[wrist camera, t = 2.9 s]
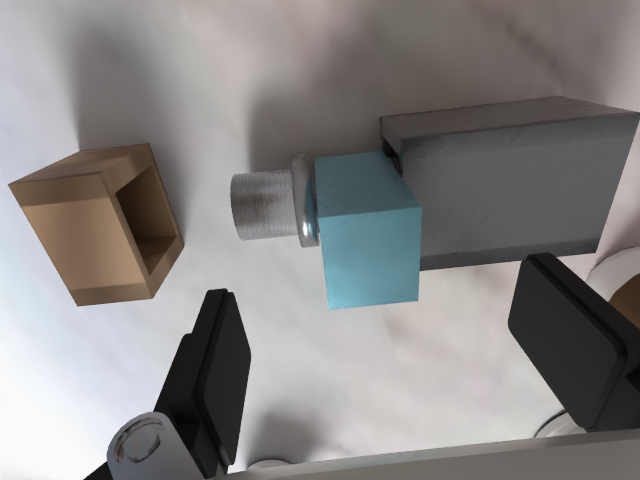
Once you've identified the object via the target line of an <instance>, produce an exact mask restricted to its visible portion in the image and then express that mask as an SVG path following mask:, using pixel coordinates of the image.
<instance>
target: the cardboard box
mask: <svg viewBox="0 0 640 480" xmlns="http://www.w3.org/2000/svg"><path fill="white" fill-rule="evenodd" d="M8 186H9V188H10V189H11V191H12V193H13V195H14V196H15V198H16V200H17V202H18V203H19V205H20V207H21V209H22V210H23V212H24V214H25V216H26V217H27V219H28V221H29V223H30V224H31V226H32V228H33V230H34V231H35V233H36V235H37V236H38V238H39V240H40V242H41V243H42V245H43V247H44V249H45V250H46V252H47V254H48V256H49V257H50V259H51V261H52V263H53V264H54V266H55V268H56V270H57V271H58V273H59V275H60V277H61V278H62V280H63V282H64V284H65V285H66V287H67V289H68V291H69V292H70V294H71V296H72V298H73V299H74V301H75V303H76V304H77V306H87V305H96V304H106V303H116V302H125V301H135V300H145V299H153V297H154V296H155V294H156V292H157V291H158V289H159V288H160V286H161V284H162V283H163V281H164V279H165V278H166V276H167V274H168V273H169V271H170V270H171V268H172V266H173V265H174V263H175V261H176V260H177V258H178V257H179V255H180V253H181V252H182V250H183V248H184V244H183V242H182V239H181V236H180V233H179V230H178V227H177V224H176V221H175V218H174V215H173V212H172V210H171V207H170V204H169V201H168V198H167V195H166V192H165V189H164V186H163V183H162V180H161V177H160V175H159V172H158V169H157V166H156V163H155V160H154V157H153V154H152V151H151V148H150V145H149V144H140V145H132V146H123V147H114V148H106V149H97V150H88V151H79V152H77V153H75V154H73V155H70V156H68V157H66V158H64V159H62V160H60V161H58V162H55V163H53V164H51V165H49V166H47V167H45V168H42V169H40V170H38V171H36V172H34V173H32V174H30V175H27V176H25V177H23V178H21V179H19V180H17V181H14V182H12V183H10V184H8Z"/></svg>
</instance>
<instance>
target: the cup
mask: <svg viewBox="0 0 640 480" xmlns="http://www.w3.org/2000/svg"><path fill="white" fill-rule="evenodd" d="M284 465H290V464H289V463H286V462H284V461H280V460H263V461H259V462H257V463H254V464H253V465H251V466H250V467H249V468H248V469H247V470H253V469H261V468H269V467H276V466H284ZM247 470H246V471H247Z"/></svg>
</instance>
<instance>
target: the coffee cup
mask: <svg viewBox="0 0 640 480" xmlns="http://www.w3.org/2000/svg"><path fill="white" fill-rule="evenodd" d="M586 284H588V285H589V286H590V287H591V288H592V289H593V290H595V291H596V292H597V293H598V294H599V295H600V296H602V297H603V298H604V299H605V300H606V301H607V302H608V303H610V304H611V305H612V306H613V307H614V308H615V309H617V310H618V311H619V312H620V313H621V314H622V315H624V316H625V317H626V318H627V319H628V320H629V321H630V322H632V323H633V324H634V325H635V326H636V327H637V328H639V329H640V247H634V248H629V249H625V250H621V251H619V252H617V253H615V254H613V255H611V256H609V257H608V258H606V259H604V260H603V261H602V262H601V263H600V264H599V265H598V266H597V267H596V268H594V269H593V271H592V272H591V274H590V276H589V277H588V279H587V281H586Z"/></svg>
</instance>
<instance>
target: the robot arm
mask: <svg viewBox="0 0 640 480" xmlns="http://www.w3.org/2000/svg"><path fill="white" fill-rule="evenodd" d="M508 327H509V330H510V332H511V334H512V335H513V336H514V338H515V339H516V341H517V342H518V343H519V345H520V346H521V348H522V349H523V350H524V352H525V353H526V355H527V356H528V357H529V359H530V360H531V362H532V363H533V365H534V366H535V367H536V369H537V370H538V372H539V373H540V374H541V376H542V377H543V379H544V380H545V381H546V383H547V384H548V386H549V387H550V388H551V390H552V391H553V393H554V394H555V396H556V397H557V398H558V400H559V401H560V403H561V404H562V405H563V407H564V408H565V410H566V411H567V413H564V414H562V415H561V416H559V417H557V418H555V419H554V420H552V421H551V422H550V423H548V424H547V425H546V426H545V427H544V428H542V429H541V430H540V431H539V433H538V434H537V436H536V437H535V438H531V439H521V440H511V441H501V442H492V443H482V444H473V445H463V446H454V447H444V448H435V449H425V450H416V451H407V452H397V453H388V454H379V455H370V456H361V457H352V458H343V459H334V460H325V461H316V462H307V463H300V464H292V465H284V466H276V467H269V468H261V469H253V470H247V471H242V472H236V473H230V474H227V471H228V466H229V465H233V464H234V462H235V458H236V452H237V446H238V440H239V433H240V427H241V420H242V414H243V407H244V401H245V395H246V388H247V382H248V375H249V369H250V363H251V351H250V347H249V344H248V340H247V337H246V333H245V330H244V326H243V323H242V320H241V316H240V313H239V309H238V306H237V303H236V299H235V296H234V293H233V292H228V290H227V289H226V288H224V289H215V290H208V291H207V293H206V296H205V298H204V301H203V304H202V306H201V309H200V312H199V314H198V317H197V320H196V323H195V325H194V328H193V331H192V333H189V334H185V335H184V336H183V338H182V340H181V342H180V345H179V347H178V350H177V352H176V355H175V357H174V360H173V362H172V365H171V367H170V370H169V373H168V375H167V378H166V380H165V383H164V385H163V388H162V390H161V393H160V395H159V398H158V400H157V403H156V405H155V408H154V410H153V412H148V413H144V414H141V415H139V416H137V417H135V418H133V419H131V420H130V421H129V422H127V423H126V424H125V425H124V426H122V427H121V428H120V430H119V431H118V432H117V433H116V434H115V435H114V437H113V439H112V441H111V442H110V444H109V447H108V451H107V461H106V462H105V463H104V464H103V465H101V466H100V467H99V468H97V469H96V470H95V471H94V472H92V473H91V474H90V475H89V476H87V477H86V478H85V479H83V480H640V329H639V328H637V327H636V326H635V325H634V324H633V323H632V322H630V321H629V320H628V319H627V318H626V317H625V316H624V315H622V314H621V313H620V312H619V311H618V310H617V309H615V308H614V307H613V306H612V305H611V304H610V303H608V302H607V301H606V300H605V299H604V298H603V297H602V296H600V295H599V294H598V293H597V292H596V291H595V290H593V289H592V288H591V287H590V286H589V285H588V284H586V283H585V282H584V281H583V280H582V279H581V278H579V277H578V276H577V275H576V274H575V273H574V272H573V271H571V270H570V269H569V268H568V267H567V266H566V265H564V264H563V263H562V262H561V261H560V260H559V259H557V258H556V257H555V256H554V255H553V254H551V253H549V252H544V253H535V254H529V255H528V256H527V257H526V259H524V260H523V261H522V262H521V266H520V270H519V274H518V279H517V283H516V288H515V292H514V296H513V301H512V305H511V310H510V314H509V318H508Z"/></svg>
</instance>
